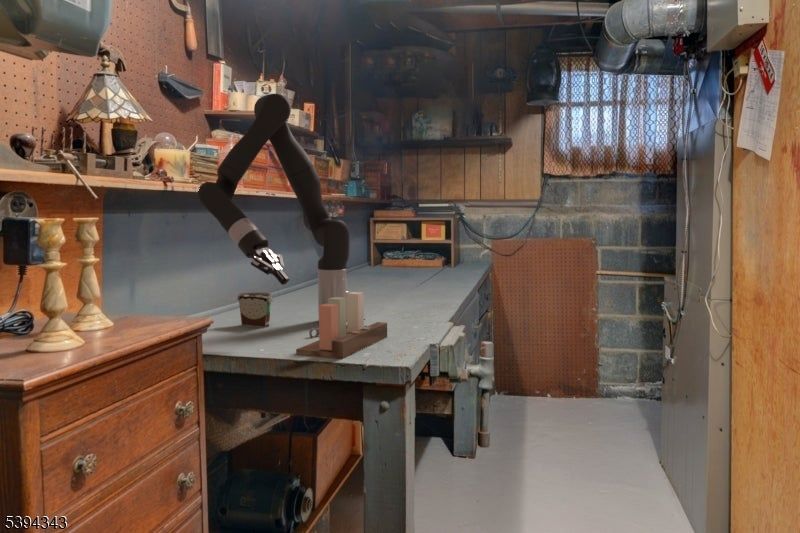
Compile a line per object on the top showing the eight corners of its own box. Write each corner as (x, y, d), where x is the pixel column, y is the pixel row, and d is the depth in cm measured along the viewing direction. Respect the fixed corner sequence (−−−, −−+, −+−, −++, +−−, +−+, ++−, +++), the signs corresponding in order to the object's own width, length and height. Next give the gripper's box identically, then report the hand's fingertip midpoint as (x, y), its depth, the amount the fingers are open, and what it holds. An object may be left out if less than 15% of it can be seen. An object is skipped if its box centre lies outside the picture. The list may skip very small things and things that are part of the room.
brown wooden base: (296, 353, 151) (295, 336, 151) (345, 333, 176) (345, 318, 176) (343, 358, 146) (342, 340, 146) (387, 337, 171) (387, 321, 170)
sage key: (328, 339, 161) (328, 298, 160) (334, 336, 164) (334, 297, 163) (340, 340, 159) (339, 299, 158) (346, 337, 163) (345, 297, 162)
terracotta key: (319, 349, 149) (318, 305, 148) (326, 346, 152) (325, 303, 151) (331, 350, 148) (331, 306, 147) (338, 347, 151) (338, 304, 150)
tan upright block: (347, 331, 171) (347, 293, 170) (352, 329, 174) (352, 292, 173) (358, 332, 169) (358, 294, 168) (363, 330, 173) (363, 292, 172)
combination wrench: (310, 327, 170) (368, 318, 182) (308, 326, 171) (365, 317, 183) (310, 340, 170) (368, 330, 183) (308, 339, 171) (366, 329, 184)
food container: (281, 324, 190) (280, 293, 189) (269, 328, 185) (268, 295, 184) (250, 321, 196) (249, 291, 195) (237, 324, 190) (237, 293, 189)
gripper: (241, 229, 162) (280, 275, 159) (269, 227, 175) (306, 270, 171) (225, 248, 165) (264, 294, 161) (254, 245, 177) (291, 288, 174)
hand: (286, 282), depth 166 cm, fingers closed
